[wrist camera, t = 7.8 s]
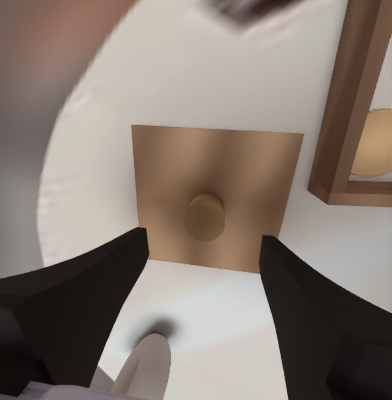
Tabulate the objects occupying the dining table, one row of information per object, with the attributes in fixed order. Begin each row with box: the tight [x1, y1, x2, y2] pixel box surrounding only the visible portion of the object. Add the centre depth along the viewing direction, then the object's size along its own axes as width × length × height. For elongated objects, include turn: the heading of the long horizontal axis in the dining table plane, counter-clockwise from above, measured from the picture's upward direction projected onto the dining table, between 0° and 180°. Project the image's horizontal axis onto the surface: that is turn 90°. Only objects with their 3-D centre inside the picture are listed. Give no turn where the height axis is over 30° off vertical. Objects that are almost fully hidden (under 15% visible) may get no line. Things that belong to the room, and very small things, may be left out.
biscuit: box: [351, 109, 392, 177], centre depth 13 cm, size 4×4×1 cm
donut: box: [111, 334, 171, 400], centre depth 20 cm, size 10×4×10 cm, turn 145°
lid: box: [131, 125, 304, 274], centre depth 15 cm, size 13×13×4 cm
